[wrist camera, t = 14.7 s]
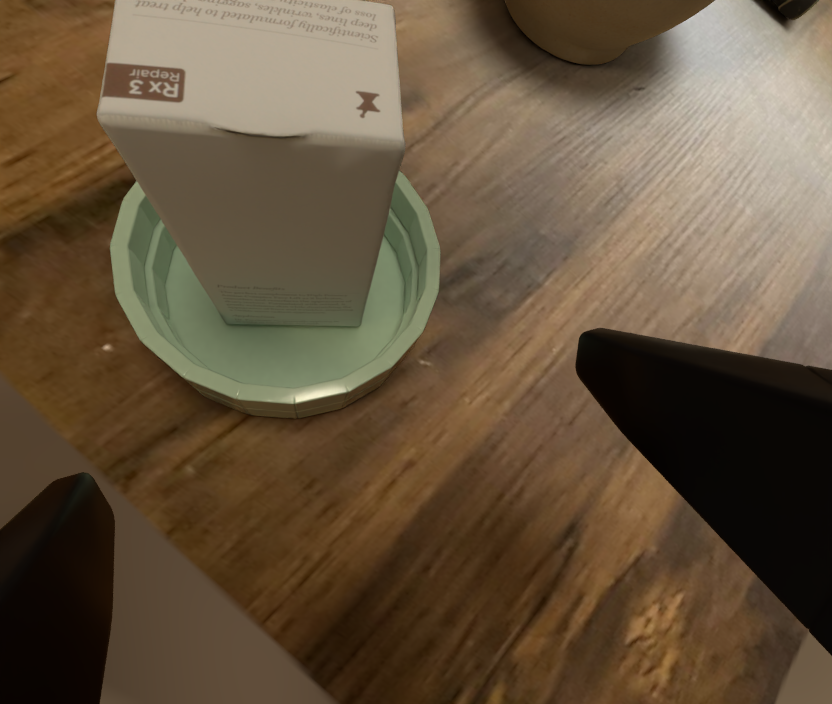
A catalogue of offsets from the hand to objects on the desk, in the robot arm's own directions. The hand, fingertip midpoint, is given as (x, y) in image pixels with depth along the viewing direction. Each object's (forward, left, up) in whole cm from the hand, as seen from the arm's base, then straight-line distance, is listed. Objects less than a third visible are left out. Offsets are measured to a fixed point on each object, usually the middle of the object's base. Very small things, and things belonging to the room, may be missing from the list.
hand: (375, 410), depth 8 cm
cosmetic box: (+4, +7, -12) cm, 14 cm away
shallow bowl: (+4, +7, -12) cm, 15 cm away
